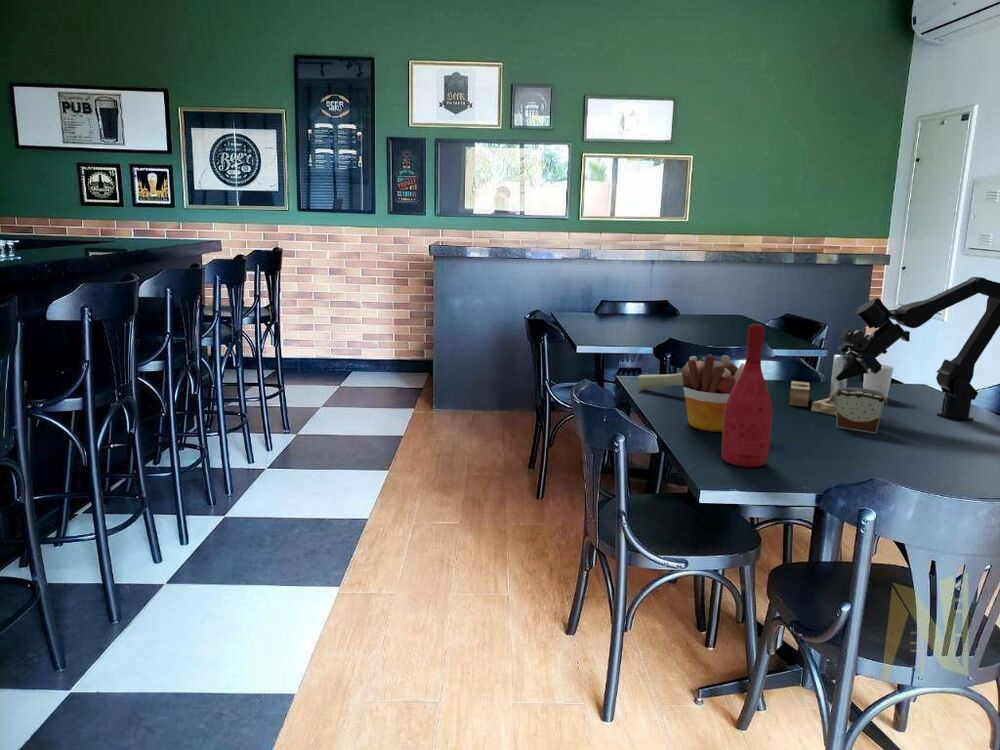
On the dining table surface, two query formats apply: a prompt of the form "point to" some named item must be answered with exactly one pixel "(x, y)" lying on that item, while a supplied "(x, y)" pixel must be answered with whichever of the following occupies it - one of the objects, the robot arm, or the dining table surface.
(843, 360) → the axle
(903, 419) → the dining table surface
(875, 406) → the food container
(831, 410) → the v cradle
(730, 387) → the bucket of meat
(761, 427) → the wine bottle
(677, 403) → the dining table surface
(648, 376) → the flower vase
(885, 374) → the white cup
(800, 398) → the beam
